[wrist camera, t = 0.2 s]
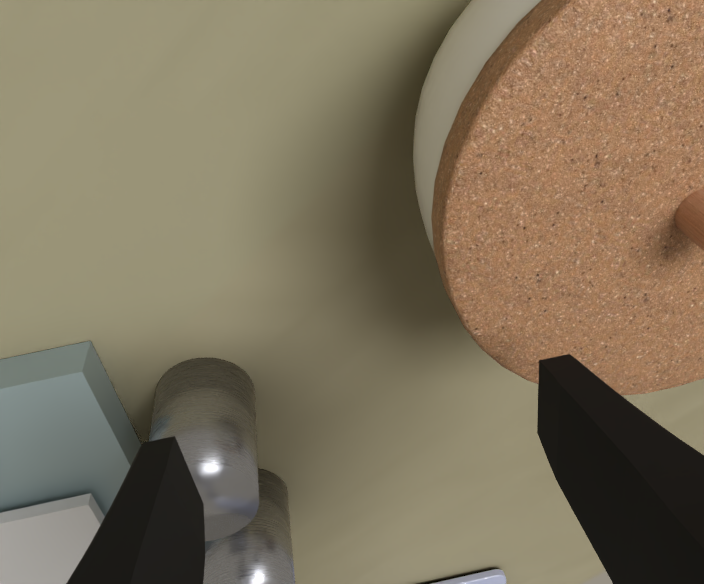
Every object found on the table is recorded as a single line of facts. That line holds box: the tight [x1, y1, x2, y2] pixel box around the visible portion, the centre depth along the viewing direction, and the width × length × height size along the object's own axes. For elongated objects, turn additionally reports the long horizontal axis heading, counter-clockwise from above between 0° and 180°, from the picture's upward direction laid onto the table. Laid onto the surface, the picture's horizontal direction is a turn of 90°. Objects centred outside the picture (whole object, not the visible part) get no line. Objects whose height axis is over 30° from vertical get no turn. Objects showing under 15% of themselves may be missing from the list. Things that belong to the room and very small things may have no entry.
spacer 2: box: [203, 469, 295, 584], centre depth 26 cm, size 4×4×5 cm
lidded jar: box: [413, 0, 704, 395], centre depth 16 cm, size 11×11×9 cm
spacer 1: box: [149, 358, 259, 541], centre depth 23 cm, size 4×4×5 cm
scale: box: [0, 341, 141, 584], centre depth 27 cm, size 20×12×3 cm, turn 9°
